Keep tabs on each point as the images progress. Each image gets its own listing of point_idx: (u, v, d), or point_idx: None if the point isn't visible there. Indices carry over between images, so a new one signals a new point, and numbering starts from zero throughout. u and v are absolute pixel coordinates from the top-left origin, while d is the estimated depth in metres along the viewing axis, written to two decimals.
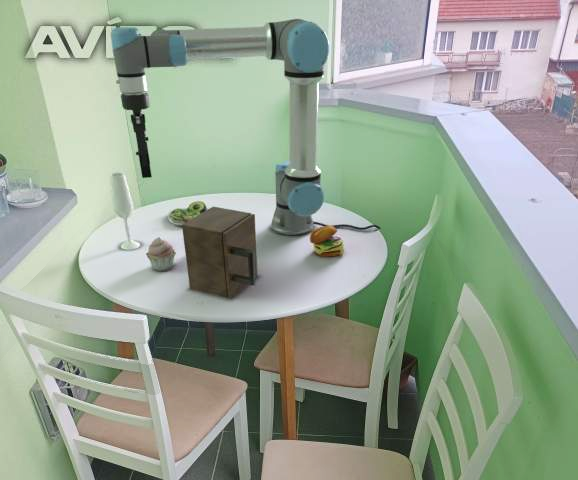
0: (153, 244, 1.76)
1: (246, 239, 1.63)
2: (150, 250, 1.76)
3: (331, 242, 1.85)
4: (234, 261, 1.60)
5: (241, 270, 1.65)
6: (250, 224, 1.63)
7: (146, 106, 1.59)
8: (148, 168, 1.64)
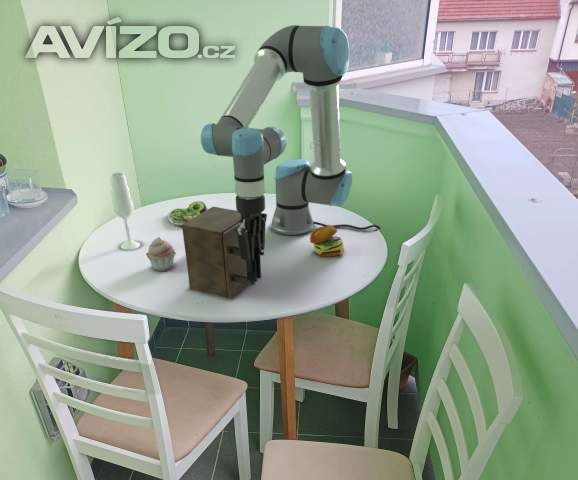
0: (153, 244, 1.76)
1: None
2: (150, 250, 1.76)
3: (331, 242, 1.85)
4: (234, 261, 1.60)
5: (241, 270, 1.65)
6: None
7: (255, 212, 1.44)
8: (253, 273, 1.56)
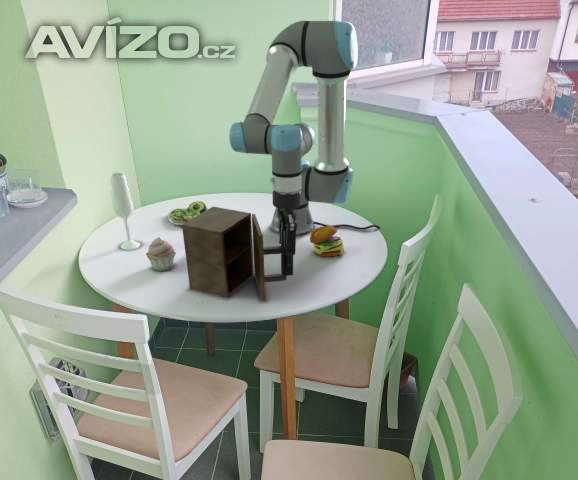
0: (153, 244, 1.76)
1: None
2: (150, 250, 1.76)
3: (331, 242, 1.85)
4: None
5: None
6: None
7: (299, 204, 1.49)
8: (291, 266, 1.59)
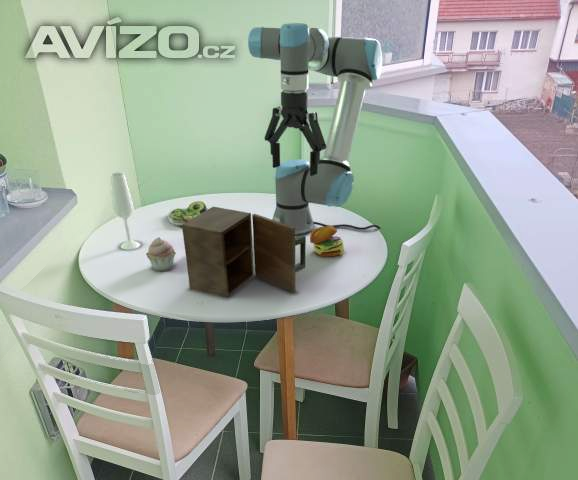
0: (153, 244, 1.76)
1: None
2: (150, 250, 1.76)
3: (331, 242, 1.85)
4: None
5: None
6: None
7: None
8: (316, 165, 1.63)
